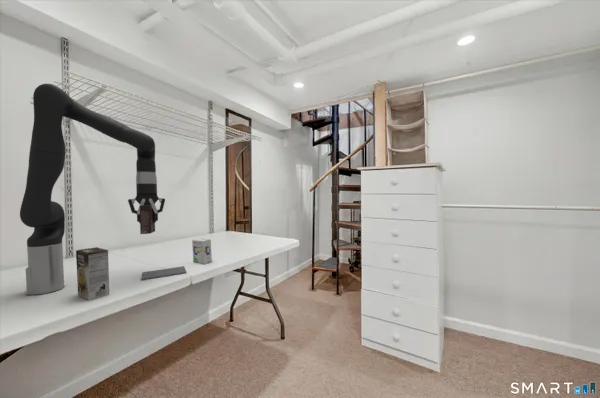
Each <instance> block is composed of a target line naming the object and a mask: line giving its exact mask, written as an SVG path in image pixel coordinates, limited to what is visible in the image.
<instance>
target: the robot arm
mask: <svg viewBox="0 0 600 398" xmlns="http://www.w3.org/2000/svg"><path fill="white" fill-rule="evenodd" d="M32 98H33V100H32V101H33V102H32V103H33V126H32V132H31V141H30V146H29V147H30V148H29V154H28V155H29V156H28V166H27V167H28V169H27V176H26V184H25V185H26V186H25V191H24V194H23V197H22V201H21V205H20V209H19V218H20V220H21V222H22V223H23V225H25V226H26V227H29V228H34V229H33V232H32V234H31V235H29V237H28V238H27V239H26V249H27V250H26V253H27V267H26V268H25V284H26V296H30V295H31V296H32V295H35V296H36V295H37V296H38V295H44V294H49V293H53V292H56V291H58V290H61V289H64V287H65V277H64V276H65V274H64V273H65V270H64V269H65V268H64V253H63V252H64V251H63V249H64V248H63V237H64V236H65V232H66V231H65V228H66V223H65V222H66V221H65V220H66V216H65V215H66V214H65V210H64V207H63V206H62V205H61V204H60V203H58V202H56V201H54V200H53V201H52V195H53V190H54V189H53V188H54V186H55V185H56V183H57V181H58V179H59V178H60V176H61V175H62V173H63V171H64V168H65V163H66V162H65V161H66V143H65V138H64V133H63V125H62V124H63V118H67V119H70V120H73V121H76V122H79V123H81V124H82V125H86V126H87V127H90V128H92V129H94V130H95V131H98V132H100V133H101V134H104V135H105V136H108V137H109V138H112V139H114V140H116V141H118V142H121V143H125V144H126V145H129V146H132V147H134V148H136V162H135V164H136V165H135V166H136V176H135V184H136V185H135V188H136V196H135V198H128V200H127V202H128V204H129V208H130V211H131V213H132V214H135V215H136V221H137V223H139V224H140V205H152V208H153V210H154V212H155V214H154V222H155V223H157V222H158V220H159V213H162V212H163V210H164V206H165V203H166V202H165V201H166V199H165V198H163V197H159V196H158V180H157V169H156V168H157V166H156V143H155V141H154V138H153V137H152V136H151V135H148V134H146V133H144V132H142V131H139V130H137V129H134V128H131V127H130V126H128V125H126V124H124V123H122V122H121V121H118V120H116V119H114V118H111V117H109V116H107V115H105V114H102V113H99V112H96V111H94V110H91V109H90V108H88V107H86V106H84V105H82V104H80V103H79V102H78V101H76V100H75V99H73V98H72V97H70V95H69V94H68V93H67V92H66V91H64V90H63V88H61V87H59V86H57V85H55V84H53V83H42V84H39V85H38V86H37V87H36V88H34V91H33V95H32ZM158 201H159V202H158ZM136 202H137V203H138V205H139V206H138V209H137V210H136V209H135V206H134V204H135V203H136ZM157 202H158V203H160V206H159V209H157V207H156V205H155V204H156V203H157Z"/></svg>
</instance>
